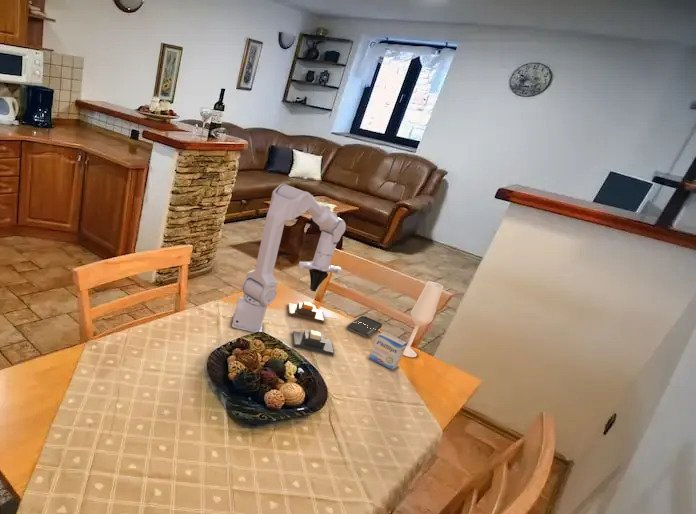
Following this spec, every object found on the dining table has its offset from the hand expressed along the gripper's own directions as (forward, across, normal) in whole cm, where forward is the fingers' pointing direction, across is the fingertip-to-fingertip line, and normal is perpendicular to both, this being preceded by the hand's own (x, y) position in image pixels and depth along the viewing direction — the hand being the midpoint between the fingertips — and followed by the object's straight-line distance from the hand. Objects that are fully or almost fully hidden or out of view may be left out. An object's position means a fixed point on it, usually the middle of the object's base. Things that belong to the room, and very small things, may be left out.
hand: (312, 290), depth 172 cm
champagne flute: (+10, +28, -21) cm, 36 cm away
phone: (+9, +20, -6) cm, 23 cm away
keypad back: (+9, 0, 0) cm, 9 cm away
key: (+7, -6, -22) cm, 24 cm away
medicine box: (+10, +15, -30) cm, 35 cm away
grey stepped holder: (+9, -6, -22) cm, 25 cm away
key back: (+7, 0, 0) cm, 7 cm away
